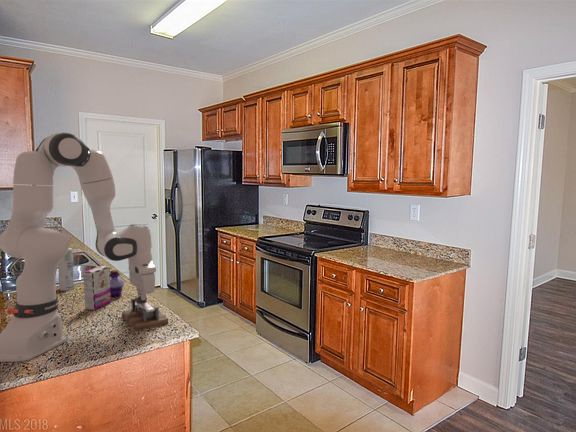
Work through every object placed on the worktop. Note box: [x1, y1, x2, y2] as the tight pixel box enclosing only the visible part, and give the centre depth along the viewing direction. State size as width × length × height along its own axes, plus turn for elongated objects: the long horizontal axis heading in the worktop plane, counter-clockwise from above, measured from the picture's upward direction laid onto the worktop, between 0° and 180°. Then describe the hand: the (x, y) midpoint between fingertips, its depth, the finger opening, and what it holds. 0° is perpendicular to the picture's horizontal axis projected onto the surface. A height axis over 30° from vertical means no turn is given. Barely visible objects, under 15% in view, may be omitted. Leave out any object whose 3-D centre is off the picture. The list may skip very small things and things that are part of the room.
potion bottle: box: [110, 270, 125, 299], centre depth 181 cm, size 9×9×12 cm
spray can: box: [57, 247, 75, 292], centre depth 191 cm, size 6×6×20 cm
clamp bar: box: [134, 296, 154, 313], centre depth 151 cm, size 14×3×1 cm, turn 38°
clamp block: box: [130, 296, 160, 323], centre depth 151 cm, size 16×6×5 cm, turn 38°
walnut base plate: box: [121, 305, 169, 332], centre depth 152 cm, size 18×12×2 cm, turn 38°
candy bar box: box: [82, 265, 112, 311], centre depth 167 cm, size 11×5×16 cm, turn 168°
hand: (142, 298), depth 155 cm, fingers closed on clamp bar
